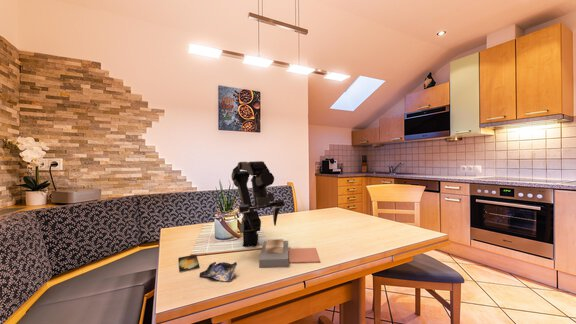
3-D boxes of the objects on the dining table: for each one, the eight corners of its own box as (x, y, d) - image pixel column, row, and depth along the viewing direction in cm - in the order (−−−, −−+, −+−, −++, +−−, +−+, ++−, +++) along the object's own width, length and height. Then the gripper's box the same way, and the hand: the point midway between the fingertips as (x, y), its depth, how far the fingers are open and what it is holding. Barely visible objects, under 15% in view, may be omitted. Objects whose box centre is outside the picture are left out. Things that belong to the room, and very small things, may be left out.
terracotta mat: (289, 263, 92) (289, 262, 92) (288, 249, 106) (288, 248, 106) (320, 262, 92) (320, 261, 92) (315, 248, 106) (315, 247, 106)
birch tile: (265, 253, 94) (265, 247, 94) (267, 245, 103) (267, 239, 103) (283, 253, 94) (283, 246, 94) (283, 245, 103) (283, 239, 103)
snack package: (202, 290, 75) (239, 279, 80) (200, 268, 76) (237, 259, 81) (199, 279, 86) (232, 271, 91) (197, 260, 87) (230, 253, 92)
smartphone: (196, 254, 103) (200, 267, 89) (196, 255, 103) (200, 269, 89) (178, 257, 99) (179, 272, 86) (178, 259, 99) (179, 273, 86)
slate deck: (259, 267, 89) (259, 259, 89) (264, 247, 109) (264, 241, 109) (288, 266, 89) (288, 258, 89) (288, 247, 109) (288, 240, 109)
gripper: (238, 189, 91) (242, 231, 88) (284, 184, 96) (290, 223, 93) (236, 193, 102) (240, 231, 98) (279, 188, 107) (284, 223, 103)
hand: (264, 227), depth 98 cm, fingers open, 9 cm apart
